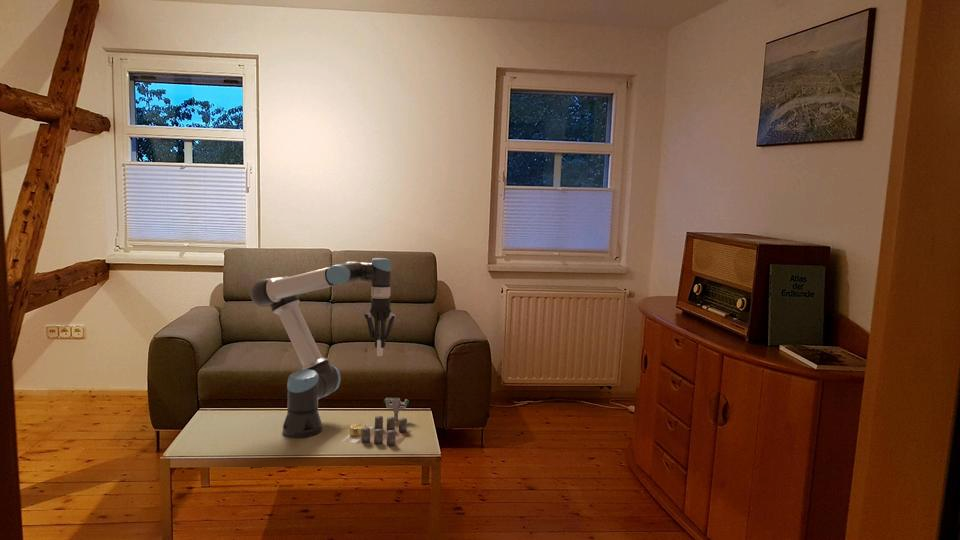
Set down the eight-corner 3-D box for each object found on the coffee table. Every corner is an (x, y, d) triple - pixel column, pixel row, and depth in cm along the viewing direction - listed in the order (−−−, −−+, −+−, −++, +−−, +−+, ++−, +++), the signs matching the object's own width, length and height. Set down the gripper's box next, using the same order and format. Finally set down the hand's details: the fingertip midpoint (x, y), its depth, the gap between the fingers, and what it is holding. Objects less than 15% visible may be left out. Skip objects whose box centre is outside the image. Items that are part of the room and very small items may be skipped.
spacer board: (341, 443, 230) (341, 428, 229) (359, 427, 247) (359, 413, 247) (397, 449, 226) (397, 434, 225) (411, 433, 243) (411, 418, 243)
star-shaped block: (345, 435, 235) (345, 428, 235) (353, 430, 242) (353, 422, 242) (362, 437, 234) (362, 430, 233) (369, 431, 240) (369, 424, 240)
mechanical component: (407, 423, 254) (408, 400, 253) (383, 422, 254) (383, 399, 253) (408, 421, 257) (409, 398, 256) (384, 420, 257) (384, 397, 256)
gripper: (361, 297, 239) (360, 356, 241) (393, 299, 237) (392, 358, 239) (368, 295, 246) (367, 352, 248) (399, 296, 244) (398, 354, 246)
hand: (379, 355), depth 243 cm, fingers closed
